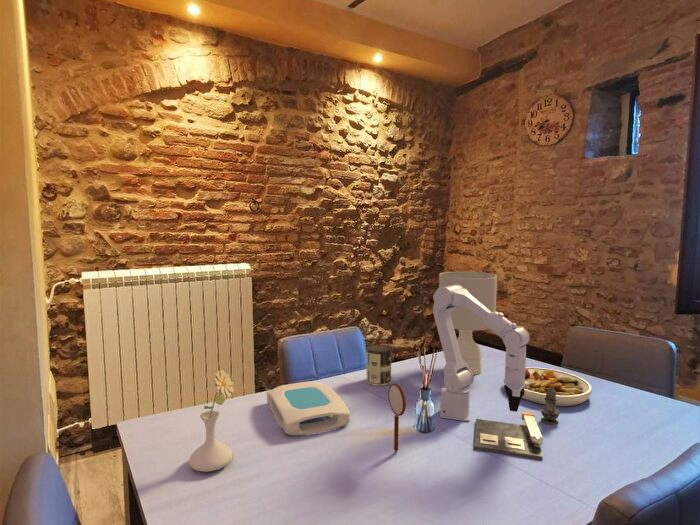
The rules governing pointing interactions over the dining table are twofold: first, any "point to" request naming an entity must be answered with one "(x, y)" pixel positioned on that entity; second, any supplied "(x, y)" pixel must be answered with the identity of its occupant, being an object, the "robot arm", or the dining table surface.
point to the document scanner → (307, 408)
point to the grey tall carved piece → (550, 408)
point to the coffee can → (379, 365)
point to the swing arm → (532, 428)
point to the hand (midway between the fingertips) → (513, 410)
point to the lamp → (466, 320)
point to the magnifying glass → (396, 408)
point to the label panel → (505, 439)
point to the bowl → (555, 386)
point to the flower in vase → (213, 432)
